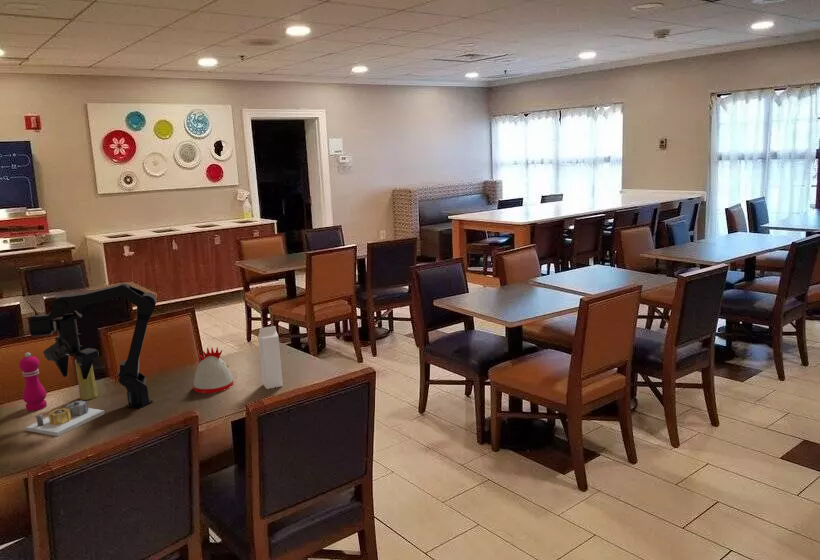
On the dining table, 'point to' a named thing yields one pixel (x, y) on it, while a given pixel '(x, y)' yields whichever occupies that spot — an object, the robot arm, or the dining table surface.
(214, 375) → the kitchen timer
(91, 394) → the vase
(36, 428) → the gear board
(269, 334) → the milk
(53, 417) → the gear
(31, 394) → the pepper mill
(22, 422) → the dining table surface
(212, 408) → the dining table surface
